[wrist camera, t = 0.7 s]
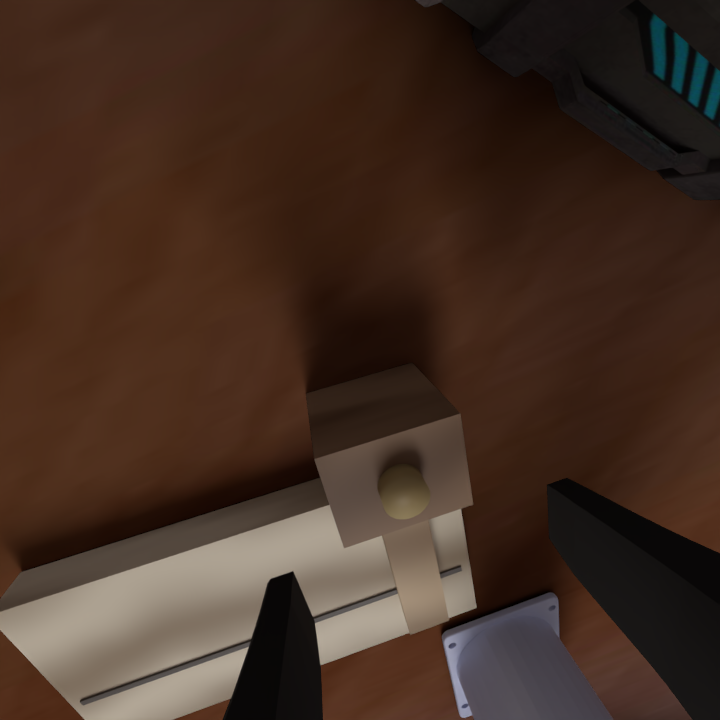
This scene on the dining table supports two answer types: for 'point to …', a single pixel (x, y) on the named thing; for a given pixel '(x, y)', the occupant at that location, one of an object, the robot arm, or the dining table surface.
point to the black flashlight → (620, 73)
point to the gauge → (393, 474)
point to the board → (209, 602)
